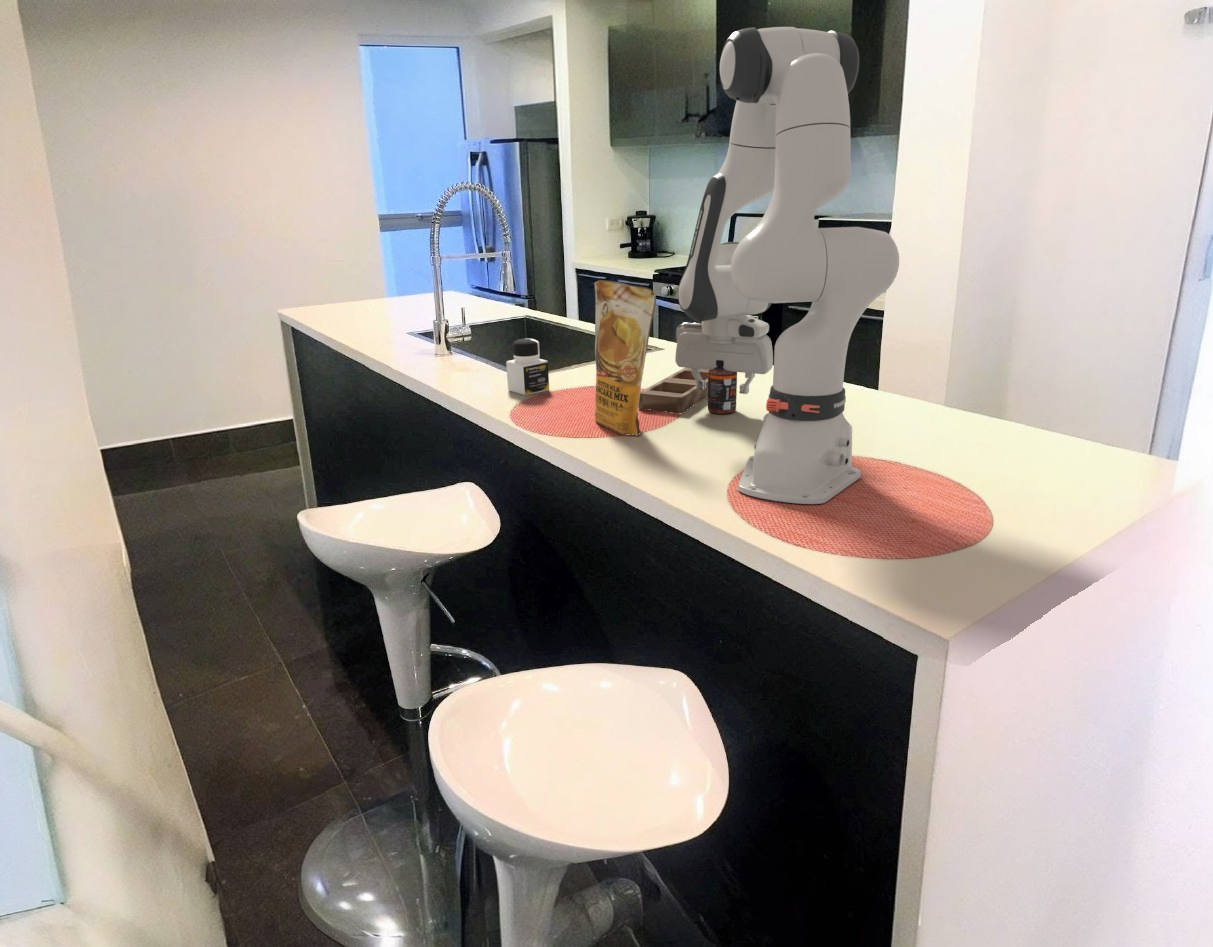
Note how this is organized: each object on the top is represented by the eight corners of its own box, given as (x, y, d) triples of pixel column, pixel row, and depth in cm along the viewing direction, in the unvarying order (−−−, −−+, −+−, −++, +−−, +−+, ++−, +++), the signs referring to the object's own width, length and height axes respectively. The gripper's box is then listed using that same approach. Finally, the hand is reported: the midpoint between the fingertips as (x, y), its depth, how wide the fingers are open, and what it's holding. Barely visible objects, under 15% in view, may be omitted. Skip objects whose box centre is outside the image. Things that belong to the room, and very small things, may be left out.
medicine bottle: (525, 396, 191) (522, 344, 187) (507, 390, 196) (503, 340, 192) (550, 390, 195) (547, 339, 191) (531, 385, 200) (528, 335, 196)
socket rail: (681, 413, 173) (681, 397, 172) (638, 409, 178) (638, 393, 177) (724, 385, 195) (725, 370, 194) (685, 381, 199) (685, 367, 198)
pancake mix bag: (611, 412, 176) (608, 277, 166) (660, 434, 160) (659, 287, 151) (583, 417, 173) (578, 280, 163) (630, 440, 157) (627, 290, 148)
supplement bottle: (735, 415, 171) (736, 361, 167) (706, 414, 172) (707, 361, 168) (736, 407, 177) (738, 355, 173) (708, 407, 178) (709, 354, 174)
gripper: (670, 324, 170) (670, 389, 175) (767, 330, 161) (764, 399, 166) (682, 319, 175) (682, 383, 180) (776, 324, 166) (774, 391, 171)
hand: (722, 391), depth 173 cm, fingers open, 8 cm apart
